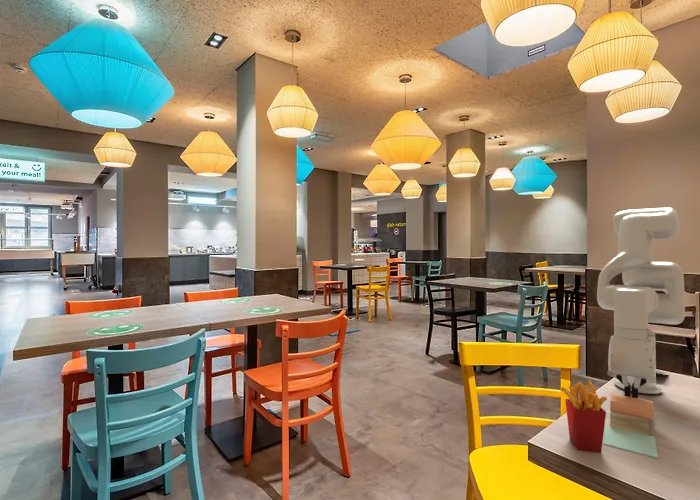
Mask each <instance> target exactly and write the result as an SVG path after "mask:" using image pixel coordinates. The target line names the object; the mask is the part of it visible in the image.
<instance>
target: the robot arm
mask: <svg viewBox="0 0 700 500" xmlns="http://www.w3.org/2000/svg"><path fill="white" fill-rule="evenodd" d="M612 224H613V229H614V234H615V235H616V237H617V239H618V240H617V255H616V256H615V257H613V258H612V259H611V260H609V261H608V262H607V263H606V264H605V265H604V266H603V268H602V269H601V271H600V272H599V275H598V279H597V287H596V288H597V289H596V291H597V292H596V299H597V301H596V302H597V304H598V306H599V307H600V308H601V309H604V310H609V311H613V335H611V336H610V339H609V343H608V345H609V346H608V356H607V357H608V360H607V363H608V366H607V367H608V370H607V372H606V374H607V376H609V377H612V378H615V379H614V384H615V386H617V387H619V388H621V389H623V391H624V393H623V395H624V396H627V397H633V398H639V394H648V395H649V394H650V395H654V394H655V395H657V394H660V393H662V391H663V386H661V385H660V384H658V383H657V374H656V370H657V366H656V365H657V360H656V358H657V357H656V355H657V353H656V352H657V351H656V349H657V348H656V345H657V344H656V331H652V329H651V328H650V327H649V323H653V324H654V323H655V324H662V325H663V324H664V325H680V324H682V323H683V322H684V320H685V317H686V316H685V314H686V305H685V303H686V302H685V301H686V299H685V297H686V296H685V278H684V277H685V276H684V272H683V271H684V270H683V268H682V266H681V265H679V264H678V263H676V262H673V261H655V259H654V252H655V251H654V247H653V241H661V240H662V241H666V240H668V241H669V240H675V239H676V238H677V236H678V235H679V232H680V217H679V212H678V211H677V209H675V208H673V207H654V208H637V209H636V208H635V209H634V208H633V209H626V210H621V211H618V212H617V213H615V214H614V215H613V218H612ZM621 273H622V274H621ZM619 274H621V278H622V283H623V284H610V281H611V280H612V279H613V278H614V277H616V276H617V275H618V276H619ZM656 291H662V292H664V293H657V292H656Z"/></svg>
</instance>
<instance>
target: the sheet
mask: <svg viewBox="0 0 700 500" xmlns="http://www.w3.org/2000/svg"><path fill="white" fill-rule="evenodd" d="M611 394H614V393H611ZM615 394H616V395H619V394H617V393H615ZM621 395H622V396H624V394H621ZM638 399H641V398H639V397H638ZM643 399H644V400H646V399H645V398H643ZM609 425H610V426H609V427H613V428H617V429H622V430H626V431H631V432H635V433H639V434H644V435H648V436H651V435H650V434H651V433H650V431H651V430H650V427H651V426H650V425H651V423H650V418H646V417H642V416H637V415H632V414H627V413H622V412H617V411H612V410H610V409H609Z"/></svg>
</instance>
